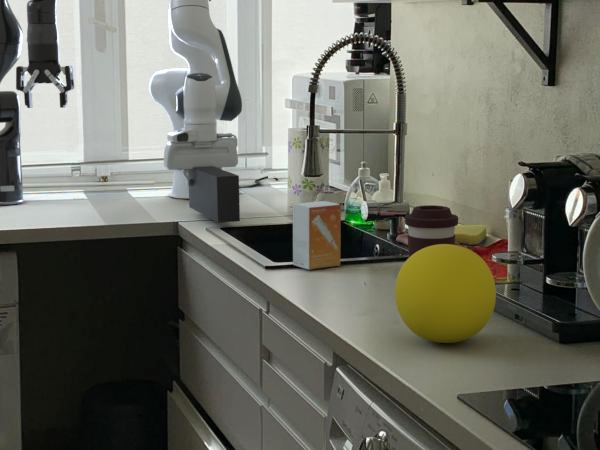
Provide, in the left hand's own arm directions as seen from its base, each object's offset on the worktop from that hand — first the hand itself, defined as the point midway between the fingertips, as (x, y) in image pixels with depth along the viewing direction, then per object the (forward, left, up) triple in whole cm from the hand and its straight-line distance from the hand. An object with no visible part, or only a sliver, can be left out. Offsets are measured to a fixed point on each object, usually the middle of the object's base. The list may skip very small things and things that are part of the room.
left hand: (46, 107), depth 263 cm
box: (+20, +37, -29) cm, 51 cm away
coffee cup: (+111, +23, -31) cm, 118 cm away
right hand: (+10, +40, -22) cm, 47 cm away
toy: (+139, -3, -31) cm, 142 cm away
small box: (+83, +19, -31) cm, 90 cm away
